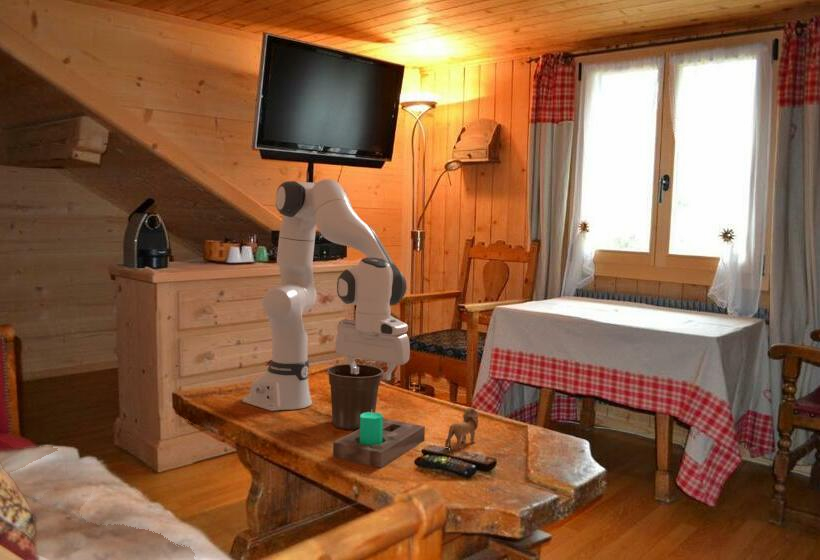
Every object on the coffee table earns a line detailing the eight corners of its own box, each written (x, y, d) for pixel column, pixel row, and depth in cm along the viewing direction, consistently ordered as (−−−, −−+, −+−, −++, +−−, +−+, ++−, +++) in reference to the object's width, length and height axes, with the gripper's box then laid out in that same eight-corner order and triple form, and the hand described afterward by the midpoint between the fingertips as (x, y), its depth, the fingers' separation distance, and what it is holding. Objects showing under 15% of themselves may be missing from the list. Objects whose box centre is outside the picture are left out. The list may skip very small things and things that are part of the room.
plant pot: (389, 419, 209) (390, 366, 207) (370, 435, 193) (372, 379, 192) (338, 413, 213) (339, 361, 212) (317, 428, 198) (318, 373, 196)
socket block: (332, 457, 176) (333, 442, 175) (380, 431, 197) (380, 417, 197) (380, 468, 169) (381, 452, 169) (424, 440, 191) (424, 426, 190)
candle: (379, 460, 175) (380, 413, 174) (356, 457, 176) (357, 411, 175) (384, 452, 181) (386, 407, 179) (362, 449, 182) (363, 405, 181)
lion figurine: (464, 435, 196) (465, 404, 195) (481, 439, 193) (482, 407, 192) (440, 450, 183) (441, 417, 182) (458, 455, 180) (460, 421, 179)
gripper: (331, 319, 177) (329, 372, 178) (401, 329, 167) (399, 385, 169) (344, 316, 182) (343, 368, 184) (414, 326, 173) (411, 380, 174)
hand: (370, 376), depth 176 cm, fingers open, 8 cm apart
